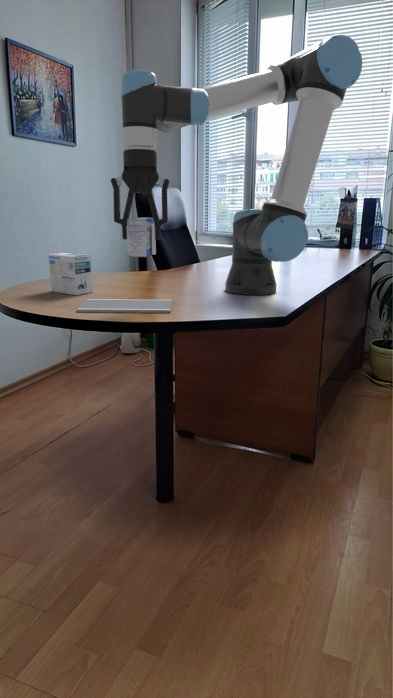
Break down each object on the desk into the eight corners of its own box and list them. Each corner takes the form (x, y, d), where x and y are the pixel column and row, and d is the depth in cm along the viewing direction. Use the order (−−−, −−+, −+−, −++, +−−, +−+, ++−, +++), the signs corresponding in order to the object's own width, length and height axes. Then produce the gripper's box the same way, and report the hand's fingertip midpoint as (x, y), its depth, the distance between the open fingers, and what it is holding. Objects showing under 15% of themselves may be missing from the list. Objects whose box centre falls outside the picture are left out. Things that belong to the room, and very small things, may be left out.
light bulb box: (94, 292, 137) (92, 254, 134) (76, 295, 132) (74, 256, 128) (67, 288, 142) (65, 251, 139) (50, 291, 137) (47, 253, 134)
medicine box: (146, 257, 111) (146, 218, 108) (127, 256, 111) (127, 218, 109) (154, 254, 118) (154, 217, 115) (137, 253, 119) (136, 217, 116)
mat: (171, 302, 124) (171, 299, 124) (170, 312, 113) (170, 309, 113) (87, 301, 124) (87, 299, 124) (77, 312, 112) (77, 309, 112)
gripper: (180, 152, 111) (179, 252, 118) (102, 150, 111) (106, 251, 118) (179, 148, 104) (179, 256, 111) (96, 146, 104) (101, 255, 111)
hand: (141, 253), depth 115 cm, fingers closed on medicine box, 5 cm apart
